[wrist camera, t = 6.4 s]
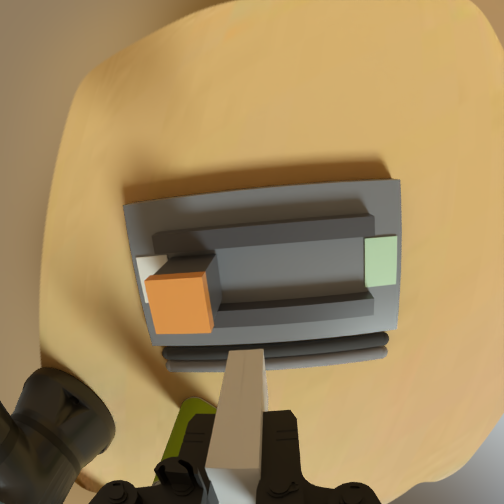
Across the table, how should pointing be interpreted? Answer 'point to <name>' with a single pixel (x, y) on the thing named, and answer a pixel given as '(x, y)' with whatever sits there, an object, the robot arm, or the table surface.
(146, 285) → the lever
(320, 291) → the panel
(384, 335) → the grey twin rods
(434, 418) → the table surface
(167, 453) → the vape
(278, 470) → the robot arm
